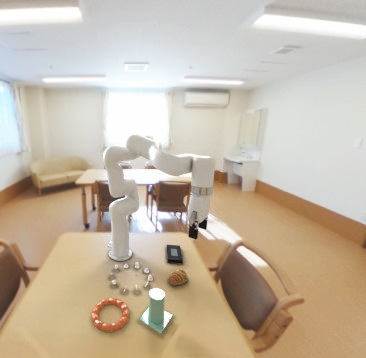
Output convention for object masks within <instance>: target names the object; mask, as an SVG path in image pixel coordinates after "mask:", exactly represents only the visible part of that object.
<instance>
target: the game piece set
mask: <svg viewBox="0 0 366 358" xmlns="http://www.w3.org/2000/svg"><path fill="white" fill-rule="evenodd" d="M134 264H135V265H134V269H140V265H139V262H137V261H136V262H135V263H134ZM118 267H119V265H118V264H115V265H114V269H116V270H118ZM123 268H124V269H128V268H129V265H128V263H124V264H123ZM143 273H145V274H148V273H150V270H149V266H146V267H145V268H144V269H143ZM110 274H111V275H113V272H111V273H110ZM153 280H154V279H153V275H152V274H148V277H147V282H146V283H145V285H144V287H148V285H149V281H150V282H152V281H153ZM111 284H112V285H113V286H114V285H117V281H116V279H113V280H111ZM127 287H128V283H126V284H125V288H124V290H122V292H126V289H127ZM138 288H139V286H138V284H135V291H138Z"/></svg>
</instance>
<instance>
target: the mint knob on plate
mask: <svg viewBox="0 0 366 358" xmlns="http://www.w3.org/2000/svg"><path fill="white" fill-rule="evenodd" d="M165 301H166V293H165V291H164V290H163V289H161V288H159V287H153V288H151V289H150V290H149V292H148V307H147V309H146V310H144V312H143V313H142V315H141V316H140V317H139V318H138V320H139V321H141V322H142V323H143V324H146V325H147V326H148V327H150V328H151V329H153V330H155V331H156V332H158V333H159V334H162V333H163V332H164V330H165V328H166V327H167V325H168V324H169V322H170V321H171V319H172V318H173V314H172V313H170V312H169V311H166V310H165V307H166V306H165V304H166V302H165Z"/></svg>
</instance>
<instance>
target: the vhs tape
mask: <svg viewBox="0 0 366 358" xmlns="http://www.w3.org/2000/svg"><path fill="white" fill-rule="evenodd" d="M181 249H182V248H181V245H178V244H166V259H167V263H168V264H180V265H181V264H183V262H184V260H183V259H184V258H183V255H182V250H181Z"/></svg>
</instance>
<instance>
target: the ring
mask: <svg viewBox="0 0 366 358" xmlns="http://www.w3.org/2000/svg"><path fill="white" fill-rule="evenodd" d="M109 305H114V306H117V307H118V308H120V310H121V312H122V315H121V318H120V319H119V320H118V321H116V322H113V323H105V322H103V321H102V320H101V319H100V317H99V314H100V311H101V310H102V309H103V308H104V307H107V306H109ZM90 317H91V320H92V324H93V326H94V327H96V328H97V329H98V330H100V331H101V332H108V333H112V332H113V333H114V332H115V331H118V330H121V329H122V328H123V327H125V325H126V324H127V323H128V322H129V319H130V309H129V307H128V306H127V304H126V303H125V302H124V301H123V300H121V299H119V298H116V297H115V298H114V297H109V298H106V299H105V298H104V299H102V300H100V301H99V302H98V303H96V305H95V306H94V307H93V309H92V312H91V315H90Z"/></svg>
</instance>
